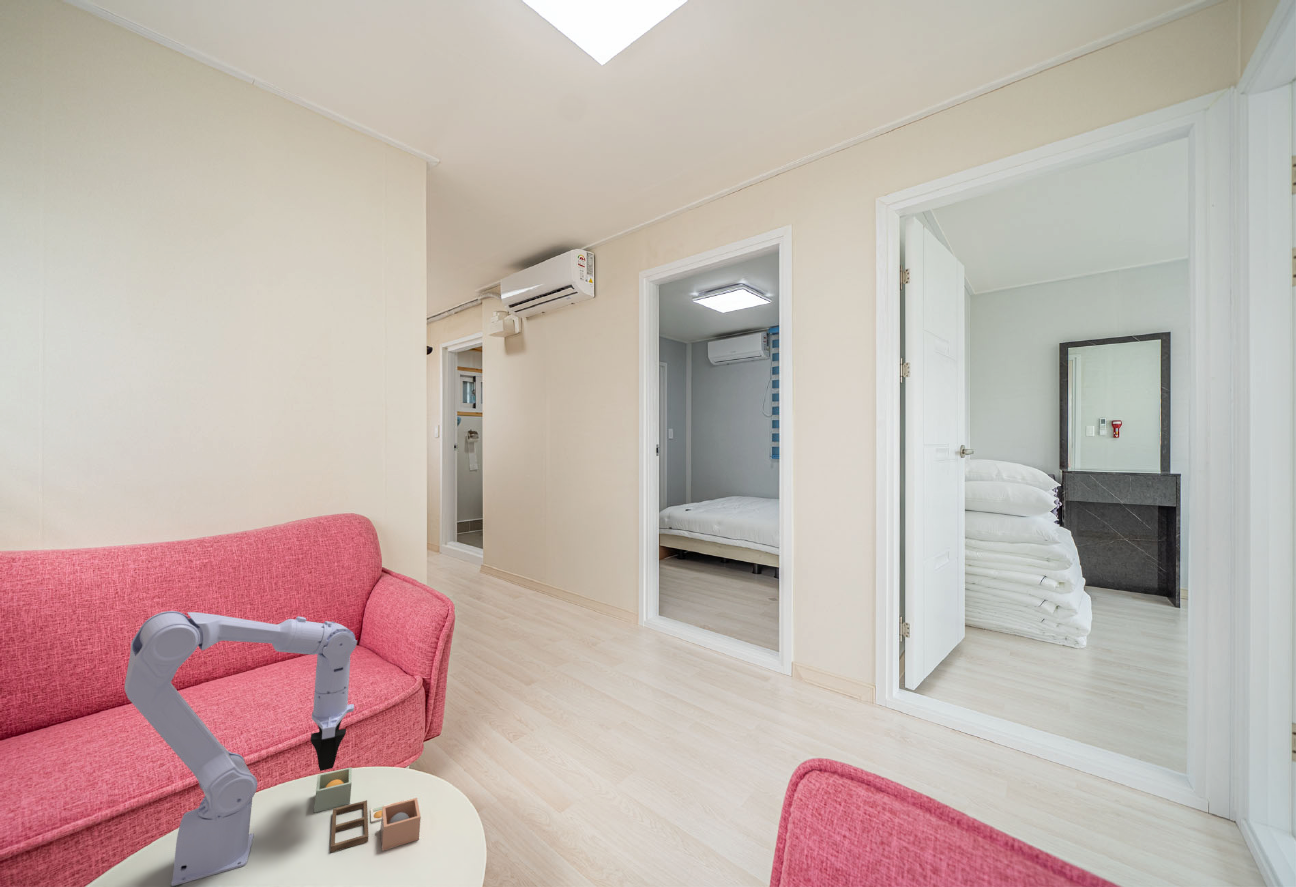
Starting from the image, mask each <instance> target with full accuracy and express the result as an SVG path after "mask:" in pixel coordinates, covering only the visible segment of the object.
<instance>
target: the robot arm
mask: <svg viewBox="0 0 1296 887" xmlns="http://www.w3.org/2000/svg"><path fill="white" fill-rule="evenodd" d="M187 614H188V616H189V617H190V618H189V617H188V616H187V615H186V614H184V613H182V612H181V611H177V610H176V611H175V610H167V611H162V612H159V613H156V614H155V615H153V616H151V617H149V618H148V619H146V621H145V622H143V623H142V625H141V626H140V628H139V629H138V631H137V632H136V634H135V635H134V637H133V639H132V640H131V643H130V651H129V654H130V655H129V659H128V664H127V669H126V676H125V681H124V692H125V695H126V697H127V699H128V700H129V702H130V703H132V705H134V708H136V709H137V711H139V713H140V714H141V716H143V717H144V719H146V720H147V722H148V723H149V725H151V727H152V728H153V729H154V730H155V731H156V732H157V733H158V735H159V736H160V737H161V738H162V739H163V740H164V741H165V743H166V744H167V746H169V747H170V748H171V749H172V751H173V752H174V753H175V754H176V755H177V757H178V758H179V759H180V760H181V761H182V762H183V764H184V765H185V766H186V767H187V768H188V770H190V772H191V773H192V774H193V775H194V776H195V778H196V779H197V782H198V785H199V787H200V789H201V790H202V792H203V794H204V797H203V798H202V800H201V802H200V805H199V806H198V807H197V808H194V809H192V810H190V811H186V812H185V813H184V814H183V815H182V818H181V819H180V820H181V821H180V824H179V828H178V831H177V836H176V843H175V853H174V861H173V862H174V863H173V871H172V880H171V882H170V885H171V886H172V887H174V886H178V885H182V884H185V883H188V882H192V881H196V880H200V879H203V878H206V877H210V876H215V875H218V874H221V873H224V872H228V871H231V870H234V869H235V870H236V869H239V868H241V867H242V868H243V867H245V866H246V865H247V863H248V859H249V855H250V852H251V848H252V844H253V840H254V835H255V834H254V833H253V832H252V833H250V827H251V817H252V816H251V815H252V807H253V806H252V805H253V798H254V796H255V795H256V792H257V789H258V780H257V777H256V776H255V775H254V774H252V772H251V771H250V769H249V767H248V766H247V764H246V761H245V759H244V757H243V756H242V755H241V754H239V753H236V752H232V751H229V750H228V749H227V748H226V746H224V745H223V744H221V743H220V741H219V740H218V738H217V737H216V736H215V735H214V733H212V731H211V730H210V729H209V727H207V725H206V724H205V723H204V722H203V720H202V719H201V718H200V717H199V715H198V714H197V712H195V711H194V709H193V708H192V707H191V706H190V705H189V703H188V702H187V701H186V699H185V698H184V697H183V696H182V695H181V693H180V692H179V691H178V690H177V688H176V687H175V686H174V685H173V683H172V682H173V679H174V677H175V675H176V673H177V671H178V670H179V668H180V667H181V666H182V665H183V664H184V663H185V661H187V660H188V659H189V658H190V657H191V655H193V654H194V652H195V651H196V650H197V648H198V647H199V649H200V650H201V651H205V650H207V649H208V648H210V647H212V646H214V645H216V644H217V643H220V642H222V641H224V642H240V643H242V642H243V643H256V644H257V643H259V644H271V645H272V647H273V649H274V650H275V652H278V653H279V652H280V653H287V654H289V653H290V654H301V655H313V656H314V655H316V657H317V658H316V666H315V680H314V696H313V709H312V710H313V711H312V713H311V720H312V721H313V722H314V723H315V724H316V725H317V727H318V732H313V733H311V734H310V742H311V745H312V746H313V747H314V750H315V752H316V756H317V758H316V759H317V764H318V769H319V771H320V772H321V771H327V770H330V769H333V768H334V766H335V762H336V759H337V755H338V751H339V747H340V745H341V743H342V741H343V739H344V738H345V736H346V734H347V728H341V729H340V726H341V724H342V721H343V719H344V717H346V715H347V714H348V713H352V712H354V710H355V704H354V703H350V704H348V703H349V702H348V701H349V688H350V687H349V684H350V672H351V655H352V653H353V652H354V650H355V649H356V647H357V644H358V640H356V636H355V633H354V632H353V631H352V630H351V629H349V628H348V627H347V626H344V625H343V624H341V623H337V622H335V621H327V620H325V621H324V623H322V622H315V621H309V620H308V621H307V618H306V617H304V616H296V618H295V619H294V618H288V619H286V620H284V621H282V622H280V623H278V624H275V623H268V622H264V621H257V620H253V619H252V620H251V619H246V618H240V617H239V618H238V617H233V616H227V615H221V614H212V613H204V612H194V611H193V612H190V611H189V612H187Z"/></svg>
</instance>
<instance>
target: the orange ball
mask: <svg viewBox="0 0 1296 887" xmlns="http://www.w3.org/2000/svg"><path fill="white" fill-rule="evenodd" d="M340 784H344V783H343V781H341V780H333V781H331V782H330V783H328V784H327V786H326V787H325V788H327V787H331V786H336V785H340Z"/></svg>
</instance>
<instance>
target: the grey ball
mask: <svg viewBox="0 0 1296 887" xmlns="http://www.w3.org/2000/svg"><path fill="white" fill-rule="evenodd" d="M405 819H409V816H408V815H407V814H406V813H403V812H401V813H397V814H396V815H394V816H393V817H392V818H391V820H390V822H389V824H391V823H394V822H398V821H402V820H405Z"/></svg>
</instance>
